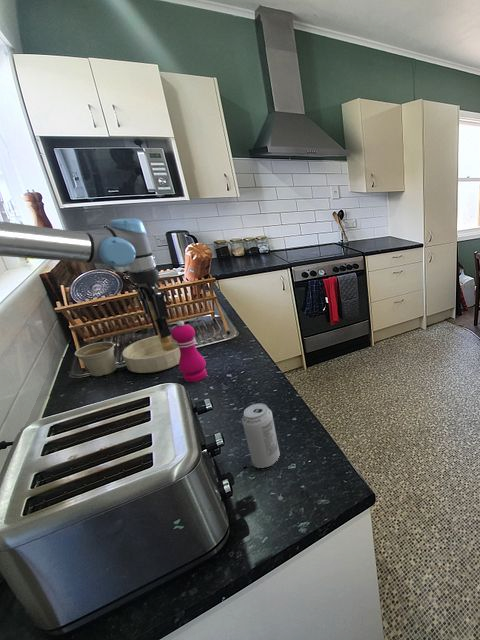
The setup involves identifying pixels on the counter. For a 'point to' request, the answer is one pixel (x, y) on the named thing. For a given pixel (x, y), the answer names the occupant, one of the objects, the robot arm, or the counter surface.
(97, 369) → the flower pot
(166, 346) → the stick
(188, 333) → the pepper mill
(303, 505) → the counter surface
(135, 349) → the bowl
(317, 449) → the counter surface
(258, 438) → the energy drink can
